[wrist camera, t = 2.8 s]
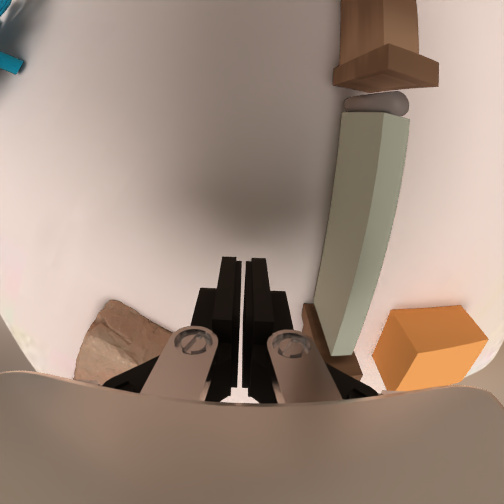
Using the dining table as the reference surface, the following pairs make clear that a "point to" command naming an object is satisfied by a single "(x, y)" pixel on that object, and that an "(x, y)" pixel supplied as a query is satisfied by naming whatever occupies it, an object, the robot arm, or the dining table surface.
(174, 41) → the dining table surface
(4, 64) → the blue green toy
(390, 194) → the door
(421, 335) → the orange rectangular block
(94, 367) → the brick
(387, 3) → the wall frame
